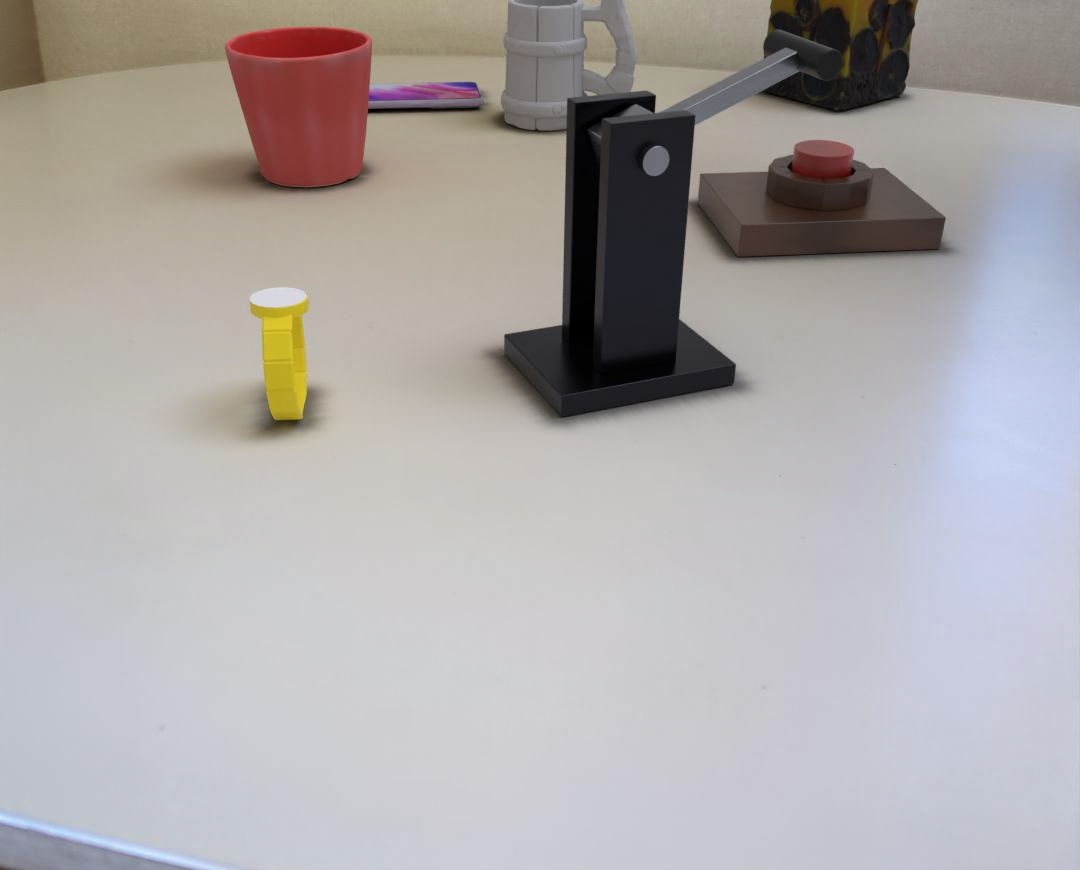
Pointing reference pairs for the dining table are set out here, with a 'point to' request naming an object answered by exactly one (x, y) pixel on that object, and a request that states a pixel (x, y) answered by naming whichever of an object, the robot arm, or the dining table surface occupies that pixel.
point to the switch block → (817, 212)
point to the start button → (822, 159)
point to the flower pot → (304, 101)
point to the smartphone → (425, 95)
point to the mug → (559, 59)
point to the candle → (849, 48)
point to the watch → (283, 349)
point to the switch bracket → (622, 266)
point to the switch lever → (749, 79)
